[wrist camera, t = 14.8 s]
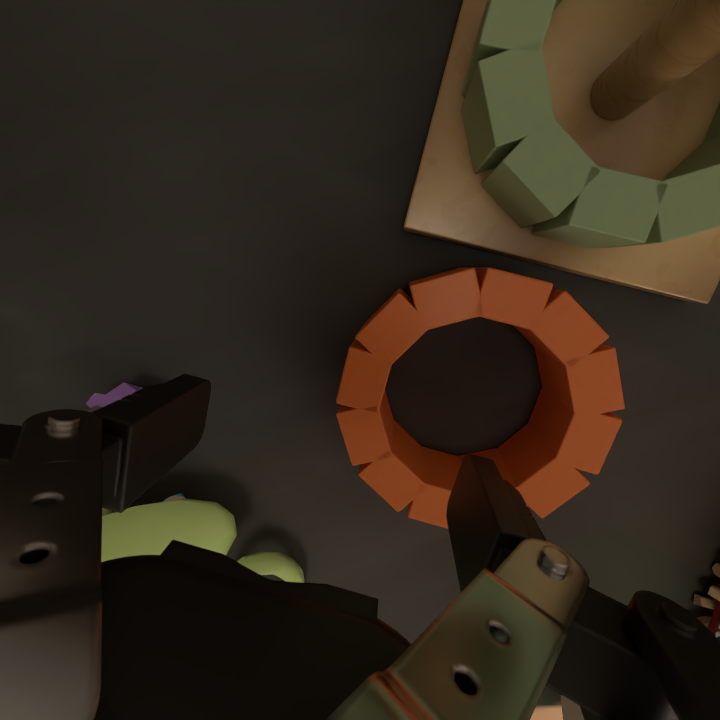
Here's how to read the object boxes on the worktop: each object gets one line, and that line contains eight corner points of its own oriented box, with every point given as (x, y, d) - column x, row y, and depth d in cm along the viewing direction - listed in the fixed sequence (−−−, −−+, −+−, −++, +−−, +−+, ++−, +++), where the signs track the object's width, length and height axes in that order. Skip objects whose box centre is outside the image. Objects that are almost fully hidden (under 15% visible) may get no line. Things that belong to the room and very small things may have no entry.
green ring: (430, 210, 18) (437, 193, 14) (519, -122, 15) (561, -263, 11) (696, 274, 17) (783, 276, 13) (847, -57, 14) (1018, -181, 10)
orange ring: (329, 453, 23) (313, 491, 19) (380, 244, 20) (375, 238, 16) (532, 509, 22) (559, 561, 18) (617, 303, 19) (672, 313, 15)
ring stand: (403, 230, 19) (402, 192, 10) (495, -121, 16) (641, -737, 6) (685, 301, 19) (990, 337, 9) (846, -48, 15) (1633, -608, 5)
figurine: (-127, 434, 26) (-267, 478, 20) (235, 341, 22) (178, 366, 16) (-6, 654, 30) (-98, 741, 24) (325, 613, 25) (303, 707, 20)
